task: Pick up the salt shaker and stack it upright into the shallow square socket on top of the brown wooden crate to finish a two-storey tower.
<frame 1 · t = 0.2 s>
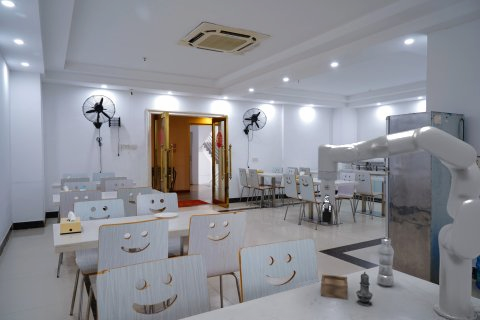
hand: (327, 219, 128), 30 cm above the table, fingers open, 9 cm apart
brown wooden crate: (334, 292, 132), on the table
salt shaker: (364, 303, 123), on the table
plastic bottle: (385, 285, 140), on the table
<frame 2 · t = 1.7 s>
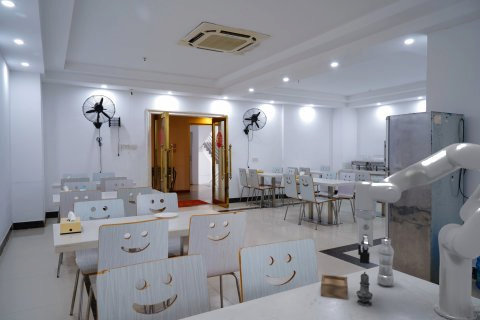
hand: (363, 259, 123), 17 cm above the table, fingers open, 9 cm apart
nothing on the table moved.
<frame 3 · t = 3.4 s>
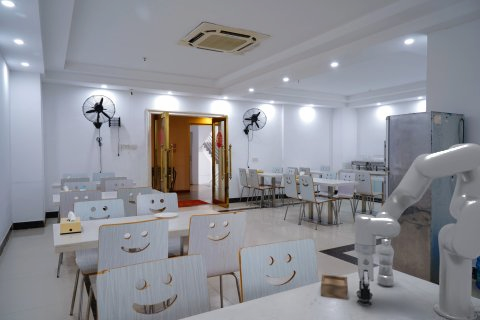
hand: (364, 294, 123), 3 cm above the table, fingers closed on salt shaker, 5 cm apart
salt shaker: (364, 303, 123), on the table, touching gripper
everything else where it was.
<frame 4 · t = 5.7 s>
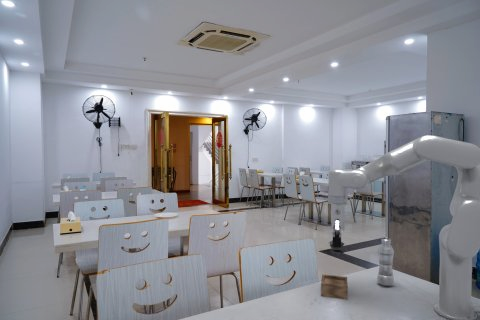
hand: (336, 244, 131), 20 cm above the table, fingers closed on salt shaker, 5 cm apart
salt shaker: (336, 252, 131), point 17 cm above the table, touching gripper
everything else where it was.
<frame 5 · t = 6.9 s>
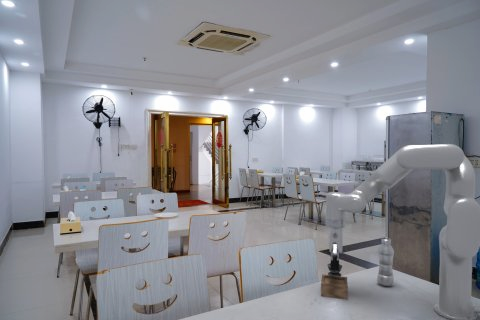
hand: (334, 266, 132), 11 cm above the table, fingers closed on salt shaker, 5 cm apart
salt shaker: (334, 274, 132), point 7 cm above the table, touching gripper
everything else where it was.
when the fingers open (8 cm above the table, at t = 7.9 s): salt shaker stays where it is, resting on brown wooden crate.
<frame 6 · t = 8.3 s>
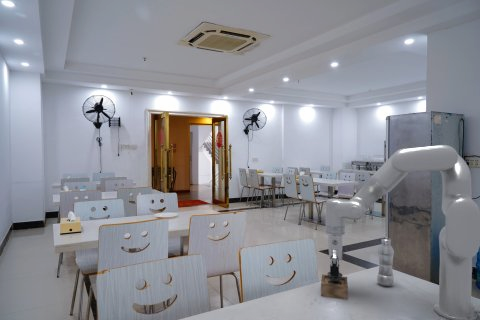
hand: (334, 271, 132), 9 cm above the table, fingers open, 9 cm apart
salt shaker: (334, 283, 132), point 4 cm above the table, touching brown wooden crate
everything else where it was.
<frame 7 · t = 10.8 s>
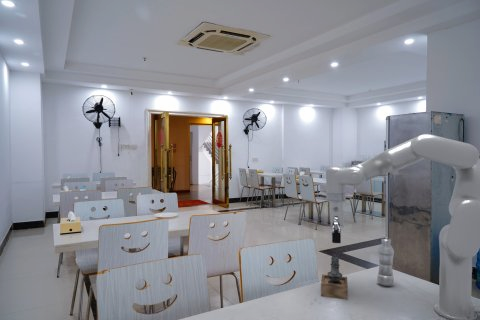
hand: (336, 239, 131), 22 cm above the table, fingers open, 9 cm apart
nothing on the table moved.
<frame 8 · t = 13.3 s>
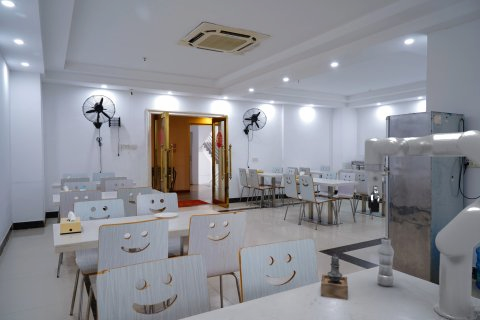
hand: (373, 210, 134), 33 cm above the table, fingers open, 9 cm apart
nothing on the table moved.
at the end: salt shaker inside the target area on the brown wooden crate (0.2 cm from its centre), point 3.8 cm above the brown wooden crate's base; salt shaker tilted 0°; the gripper is holding nothing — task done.
